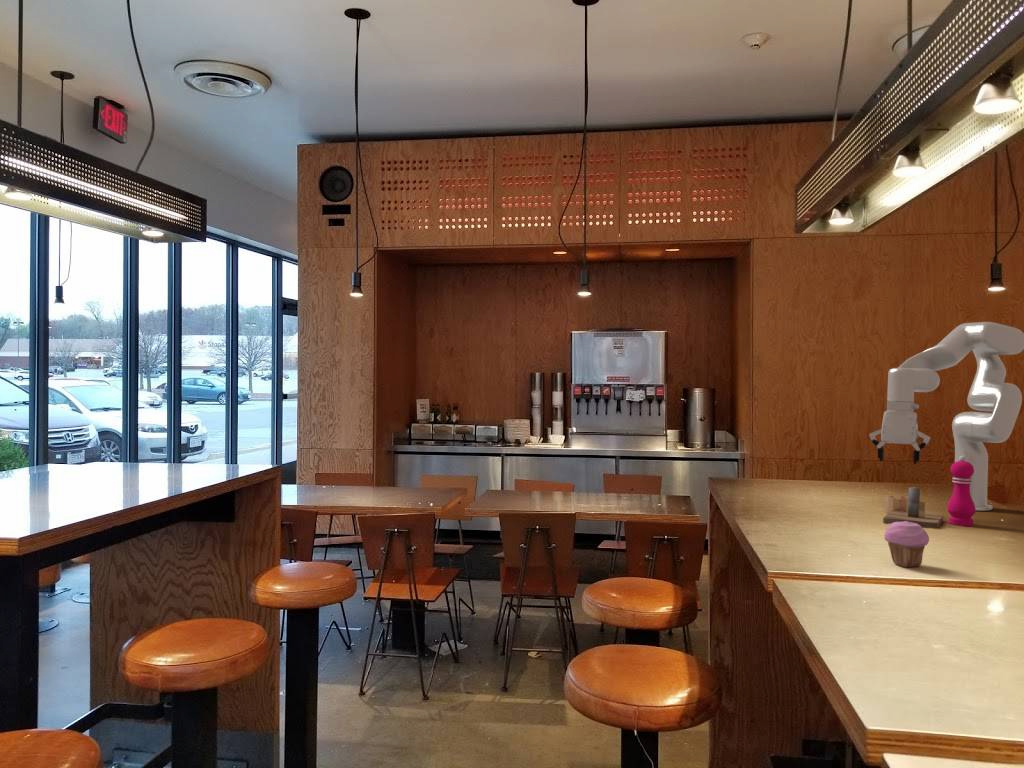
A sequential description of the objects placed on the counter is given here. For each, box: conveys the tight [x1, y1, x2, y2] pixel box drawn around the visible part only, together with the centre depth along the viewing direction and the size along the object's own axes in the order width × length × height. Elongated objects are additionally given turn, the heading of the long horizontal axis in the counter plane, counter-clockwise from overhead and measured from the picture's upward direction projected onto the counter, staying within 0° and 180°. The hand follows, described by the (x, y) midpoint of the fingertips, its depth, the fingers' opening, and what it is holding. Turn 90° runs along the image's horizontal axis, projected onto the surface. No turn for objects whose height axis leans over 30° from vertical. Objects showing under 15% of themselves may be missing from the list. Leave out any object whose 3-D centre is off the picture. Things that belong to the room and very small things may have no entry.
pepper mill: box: [946, 456, 977, 527], centre depth 237 cm, size 7×7×20 cm
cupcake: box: [884, 521, 930, 568], centre depth 183 cm, size 9×9×10 cm
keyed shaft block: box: [882, 486, 944, 529], centre depth 240 cm, size 16×14×10 cm
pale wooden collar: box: [884, 495, 908, 514], centre depth 254 cm, size 7×7×5 cm
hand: (898, 462), depth 254 cm, fingers open, 9 cm apart
